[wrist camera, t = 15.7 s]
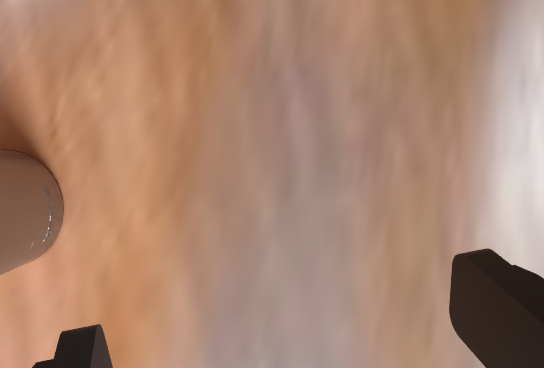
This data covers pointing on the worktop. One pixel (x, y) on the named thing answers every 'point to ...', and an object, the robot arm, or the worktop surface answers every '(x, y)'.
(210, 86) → the worktop surface
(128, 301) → the worktop surface
